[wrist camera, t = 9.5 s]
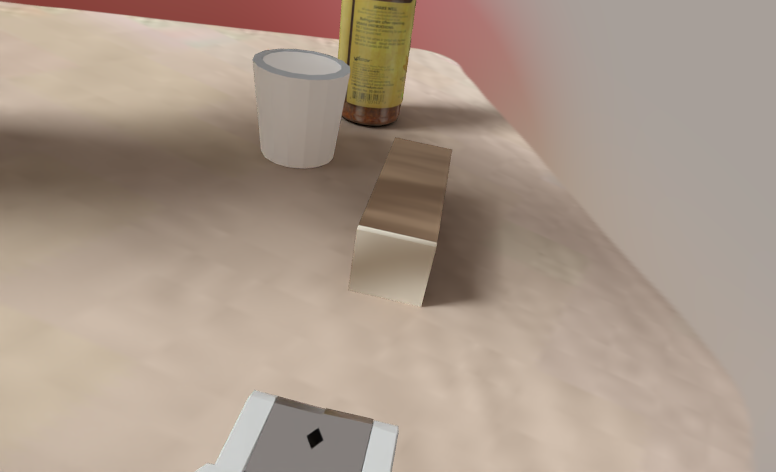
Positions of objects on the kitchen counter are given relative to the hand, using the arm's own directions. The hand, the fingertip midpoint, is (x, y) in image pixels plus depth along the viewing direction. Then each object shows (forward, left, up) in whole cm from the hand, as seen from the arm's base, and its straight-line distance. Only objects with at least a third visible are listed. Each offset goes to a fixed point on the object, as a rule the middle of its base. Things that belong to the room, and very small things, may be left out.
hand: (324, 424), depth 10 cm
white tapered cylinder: (+11, +28, -9) cm, 32 cm away
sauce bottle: (+20, +34, -9) cm, 41 cm away
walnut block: (+9, +11, -7) cm, 16 cm away
